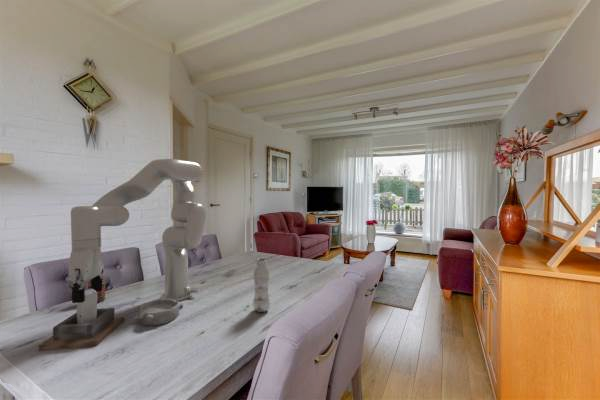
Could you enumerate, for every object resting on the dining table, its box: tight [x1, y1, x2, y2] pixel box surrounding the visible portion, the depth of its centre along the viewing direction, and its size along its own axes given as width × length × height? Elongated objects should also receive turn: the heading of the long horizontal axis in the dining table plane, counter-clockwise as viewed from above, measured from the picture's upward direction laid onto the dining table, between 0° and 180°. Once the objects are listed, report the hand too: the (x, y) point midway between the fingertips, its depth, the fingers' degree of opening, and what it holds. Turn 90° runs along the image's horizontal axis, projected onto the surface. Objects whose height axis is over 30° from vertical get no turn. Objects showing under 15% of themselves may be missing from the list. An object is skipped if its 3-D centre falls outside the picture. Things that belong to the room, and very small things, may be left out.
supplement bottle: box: [87, 274, 106, 303], centre depth 114 cm, size 6×6×11 cm
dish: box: [138, 298, 184, 326], centre depth 99 cm, size 14×14×5 cm
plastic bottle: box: [252, 258, 271, 313], centre depth 105 cm, size 6×7×20 cm
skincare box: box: [76, 288, 98, 324], centre depth 87 cm, size 6×4×12 cm
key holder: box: [38, 307, 125, 351], centre depth 87 cm, size 15×17×6 cm
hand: (88, 296), depth 87 cm, fingers open, 9 cm apart
